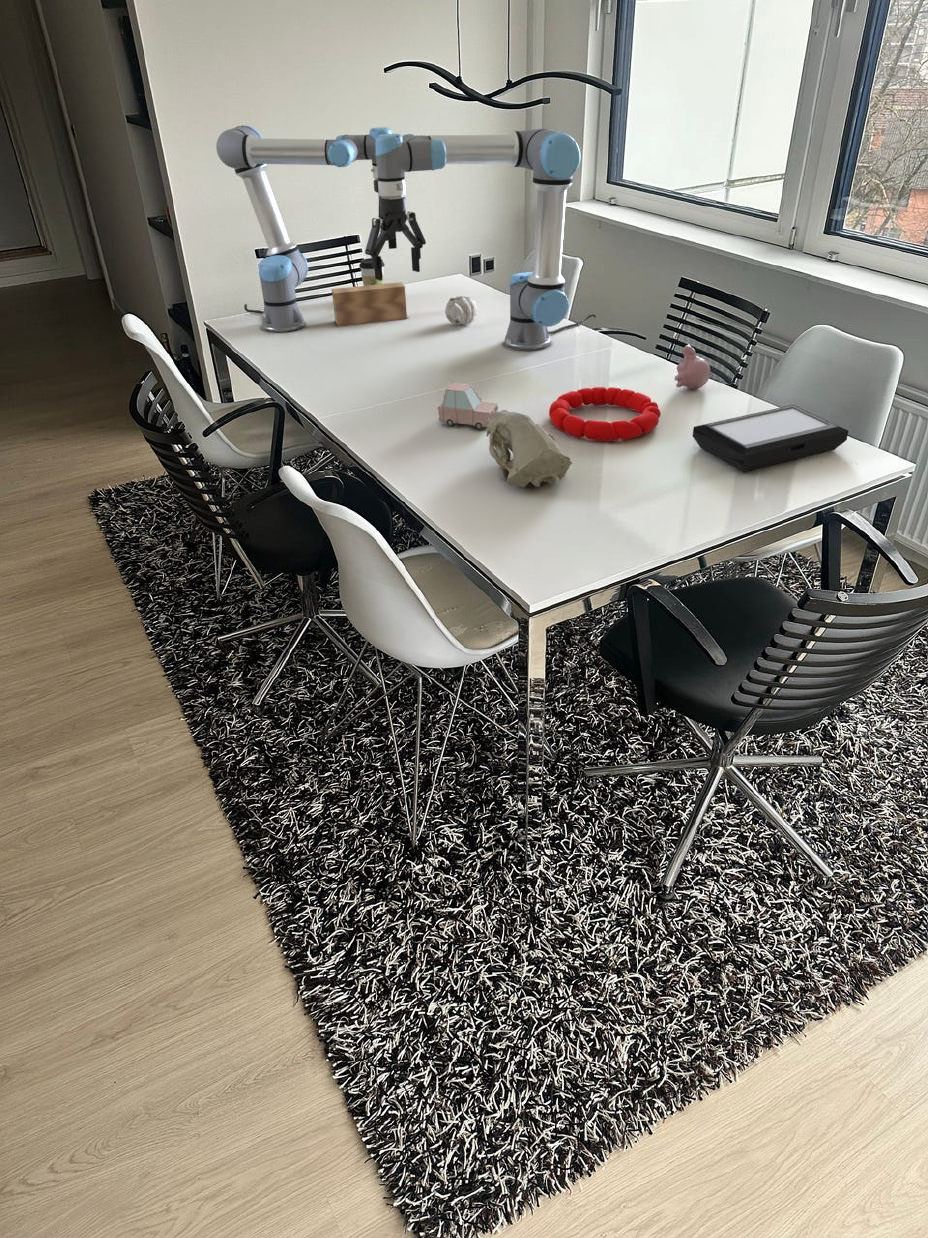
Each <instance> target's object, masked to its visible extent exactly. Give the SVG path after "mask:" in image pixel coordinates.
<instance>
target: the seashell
mask: <svg viewBox="0 0 928 1238" xmlns="http://www.w3.org/2000/svg"><path fill="white" fill-rule="evenodd" d="M444 313H445V316H446V319H447V320H448V321H449V323H450V324H452V325H455V326H458V325H460V324H461V325H468V324H471V323H472V321H473V320H474V319H475V318H476V316H477V314H478V306H477V303H476V301H475V300H474V299H472V298H471V297H470V296H462V295H460V296H458V295H457V296H455V297H451V298H449V299H448V302H447V303H446V305H445V309H444Z"/></svg>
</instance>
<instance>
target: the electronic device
mask: <svg viewBox="0 0 928 1238" xmlns="http://www.w3.org/2000/svg"><path fill="white" fill-rule="evenodd" d="M849 432H850V431H849V430H848V429H847V428H844V427H841V426H839V425H838V424H836V423H834V422H831V421H829V420H827V419H825V418H822V417H821V416H819V415H816V414H814V413H812V412H810V411H808V410H806V409H804V408H802V407H799V406H797V405H795V404H790V405H786V406H781V407H778V408H771V409H768V410H763V411H759V412H755V413H749V414H745V415H741V416H736V417H731V418H727V419H722V420H718V421H714V422H709V423H704V424H700V425H696V426H693V428H692V437H693V439H694V440H695V442H696V443H697V445H698V447H699V448H700V449H702V450H704V451H705V452H707V453H709V454H710V455H712V456H714V457H715V458H718V459H720V461H723V462H724V463H726V464H728V465H730V466H732V467H734V468H735V469H736V470H738V471H739V472H741V473H745V472H747V471H752V470H756V469H760V468H764V467H765V468H766V467H769V466H772V465H778V464H781V463H784V462H789V461H794V460H798V459H801V458H805V457H809V456H814V455H817V454H822V453H825V452H830V451H834V450H836V449H837V448H839V447H840V446H841V445H843V444H844V443H845V442H846V441H847V440H848V435H849Z"/></svg>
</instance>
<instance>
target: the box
mask: <svg viewBox="0 0 928 1238" xmlns="http://www.w3.org/2000/svg"><path fill="white" fill-rule="evenodd" d="M331 297H332V304H333V315H334V322H335V323H336V326H337V327H343V326H351V325H360V324H361V325H362V324H370V323H379V322H389V321H397V320H406V319H408V315H407V298H406V286H405V285H404V284H403V282H401V281H400V282H399V281H398V282H389V283H383V284H378V285H368V286H364V285H358V286H349V287H340V288H331Z"/></svg>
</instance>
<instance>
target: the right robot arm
mask: <svg viewBox="0 0 928 1238" xmlns="http://www.w3.org/2000/svg"><path fill="white" fill-rule="evenodd" d="M375 155H376V161H377V172H378V190H379V195H378V197H379V196H381V198H380V199H379V198H378V203H379V202H380V211H381V214H382V216H381V219H379V218H376V217H373V218H372V219H371V229H370V232H369V235H368V240H367V241H366V242H367V243H366V246H365V250H364V254H365V255H367V256H370V258H372V267H373V268H374V269H375V279H377V280H380V281H381V280H383V276H382V263H381V259H382V256H380V254H381V252H382V249H383V247H384V246H385V243H386V242H387V241H386V240H387V238H388V236H389V235H390V234H391V233H395V232H396V233H401V232H402V234H403V235H404V236H405V238H406V239H407V240H408V242H410V244H411V245H412V246H413V247H410V254H411V255H410V256H411V270H412V272H416V273H420V272H421V268H420V267H421V266H420V260H421V258H422V256H421V255H422V254H421V253H422V252H421V249H423V247H424V245H426V243H427V241H426V239H425V237H424V234H423V232H422V230H421V228H420V225H419V223H418V220H417V216H416V213H415V212H414V211H410V210H409V211H407V197H405V195H406V177H405V176H406V175H405V174H406V173H411V172H423V171H424V172H425V171H426V172H427V171H432V172H433V171H436V170H443V168H445V166H446V165H497V164H499V165H500V164H502V165H503V164H504V165H505V164H506V165H508V166H509V167H510V168H521V169H527V170H531V171H532V184H533V185H534V186H535V188H536V190H537V191H536V193H537V194H536V206H535V207H536V208H535V228H534V245H533V247H534V248H533V265H532V271H525V272H518V273H513V274H512V275H511V276H510V280H509V281H510V282H509V315H510V316H509V323H508V327H507V330H506V334H505V335H504V337H505V338H504V345H505V347H506V348H509V349H511V350H515V351H538V350H543V349H546V348H547V347H549V346H550V344H551V337H550V334H551V335H552V334H555V333H558V332H561V331H562V330H566V329H568V328H572V327H577V326H579V325H581V324H583V323H584V322H585V321H587V320H588V319H590V318H591V317H593V318H597V315H596V314H595V313H591V314H589V315H587V316H586V317H584V318H582V319H581V320H580V321H579V322H576V323H572V324H568V325H564V326H562V327H559V328H557V329H554V330H548V328H549V327H553V326H556V325H558V324H559V323H561V322H563V320H564V319H565V317H566V316H567V315H568V312H569V307H570V303H569V298H568V296H567V294H565V284H566V280H565V278H564V277H563V276H562V274H561V272H562V271H561V270H562V258H563V243H564V241H563V240H564V228H565V214H566V201H567V191H568V189H569V188H570V187H571V186H572V185H573V178H574V177H573V176H574V174H575V173H576V171H577V170H578V169H579V166H580V163H581V150H580V147H579V145H578V142H577V141H576V140H575V138H573V137H572V136H571V135H569V134H567V133H565V132H563V131H558V130H553V129H549V128H535V129H526V130H525V129H524V130H512V131H510V132H509V133H508V134H453V135H452V134H450V135H449V134H441V135H440V134H439V135H438V134H436V135H435V134H434V135H433V134H430V135H425V134H424V135H414V134H411V133H408V134H407V133H406V134H403V135H402V134H400V133H392V134H382V135H379V136H377V138H376V153H375ZM406 211H407V212H406ZM407 222H408V225H407ZM382 225H383V226H382ZM380 226H382V228H380ZM410 228H411V230H412V231H411V230H410Z"/></svg>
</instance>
